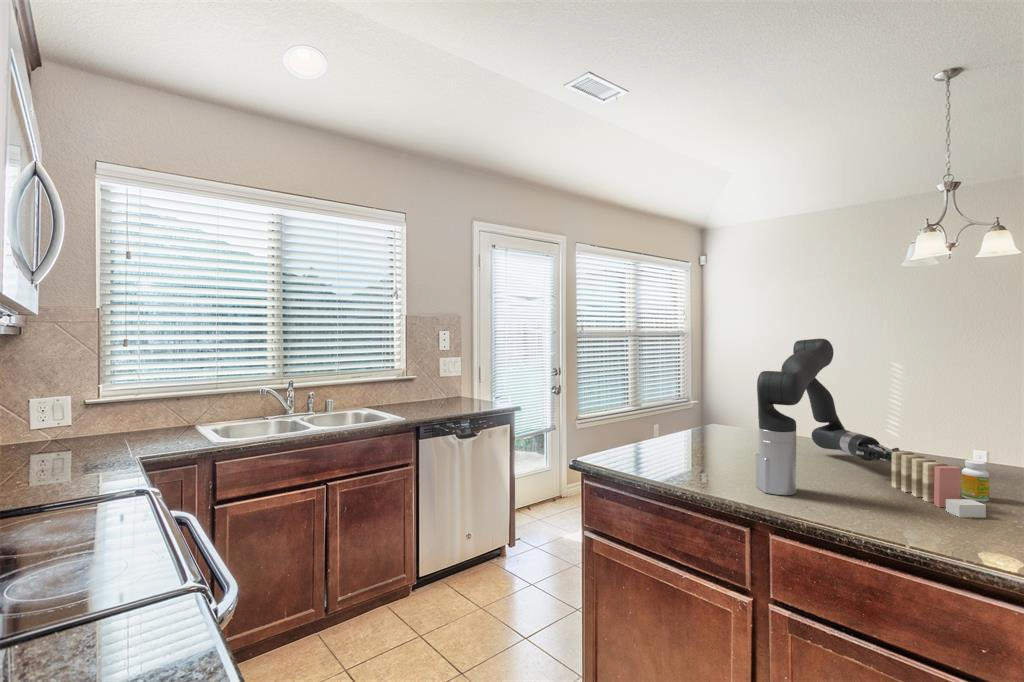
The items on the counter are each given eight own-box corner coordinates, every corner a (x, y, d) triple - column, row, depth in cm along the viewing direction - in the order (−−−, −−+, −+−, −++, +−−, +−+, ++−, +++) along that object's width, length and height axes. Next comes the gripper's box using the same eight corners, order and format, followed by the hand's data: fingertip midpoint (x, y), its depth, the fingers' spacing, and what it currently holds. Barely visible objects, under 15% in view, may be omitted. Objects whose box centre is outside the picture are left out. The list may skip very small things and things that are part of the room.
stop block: (959, 517, 119) (959, 504, 119) (945, 511, 123) (945, 499, 123) (985, 517, 119) (985, 505, 119) (971, 511, 123) (971, 499, 123)
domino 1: (895, 488, 141) (895, 452, 141) (891, 486, 142) (891, 451, 142) (913, 488, 141) (914, 452, 140) (909, 486, 142) (909, 451, 142)
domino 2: (905, 492, 137) (905, 456, 137) (901, 490, 139) (901, 454, 138) (924, 492, 137) (924, 456, 137) (919, 491, 138) (920, 454, 138)
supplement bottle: (979, 502, 129) (979, 465, 129) (955, 496, 134) (956, 460, 134) (994, 500, 130) (994, 463, 130) (970, 494, 135) (970, 458, 135)
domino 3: (916, 497, 133) (916, 460, 133) (911, 495, 135) (911, 458, 135) (935, 497, 133) (935, 460, 133) (930, 495, 135) (931, 458, 134)
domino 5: (939, 507, 126) (939, 468, 125) (934, 505, 127) (934, 466, 127) (959, 507, 125) (960, 468, 125) (954, 505, 127) (955, 466, 127)
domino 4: (927, 502, 130) (927, 463, 129) (922, 500, 131) (922, 462, 131) (947, 502, 129) (947, 463, 129) (942, 500, 131) (942, 462, 131)
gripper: (838, 434, 160) (875, 446, 143) (880, 434, 160) (923, 446, 142) (838, 457, 160) (874, 472, 143) (880, 457, 160) (922, 473, 143)
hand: (898, 459), depth 143 cm, fingers closed
